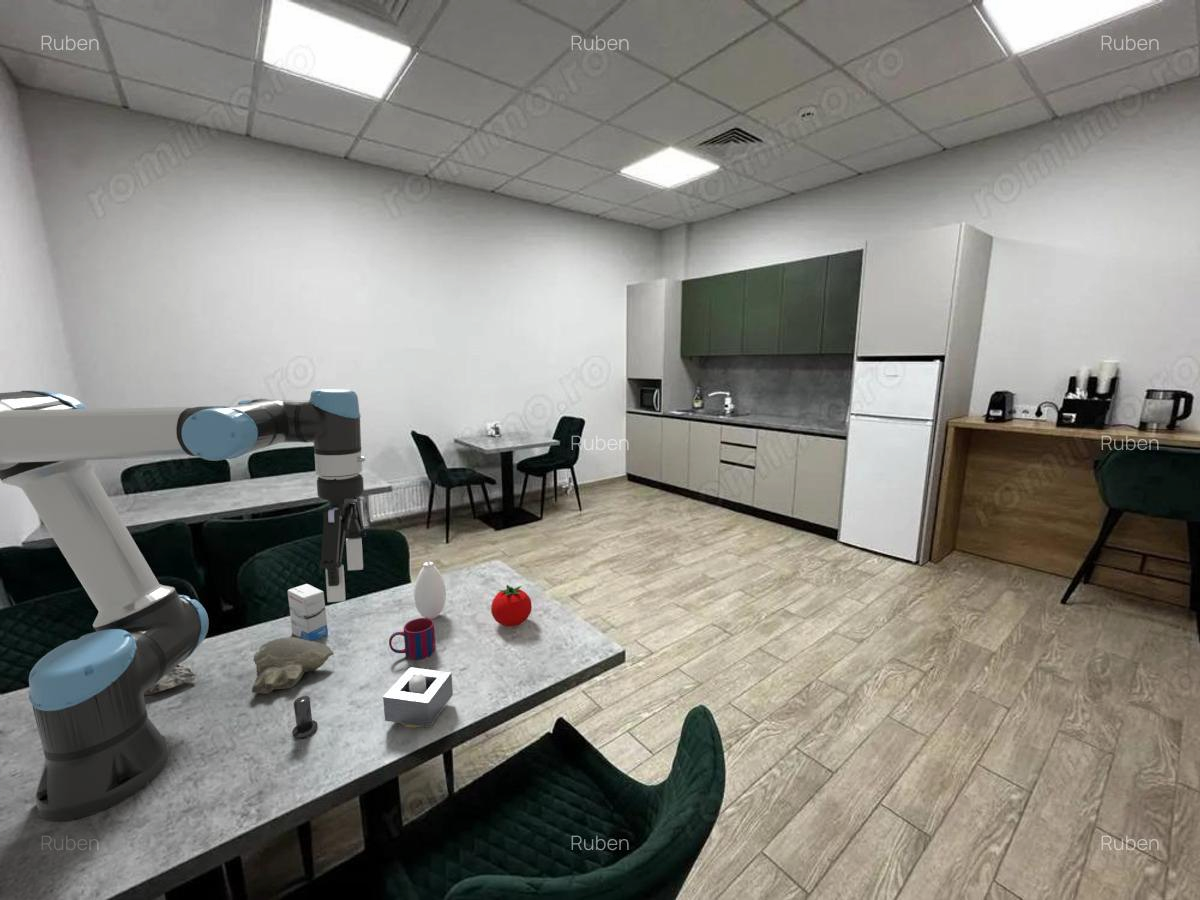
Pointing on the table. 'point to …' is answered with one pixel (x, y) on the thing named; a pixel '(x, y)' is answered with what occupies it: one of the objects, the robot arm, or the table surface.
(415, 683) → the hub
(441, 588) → the white vase
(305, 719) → the dark grey round-topped piece
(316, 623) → the ink box
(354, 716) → the table surface
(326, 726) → the table surface
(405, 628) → the mug
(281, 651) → the fossil
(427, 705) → the grey square bin
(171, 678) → the mineral rock
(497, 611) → the tomato
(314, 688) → the table surface
